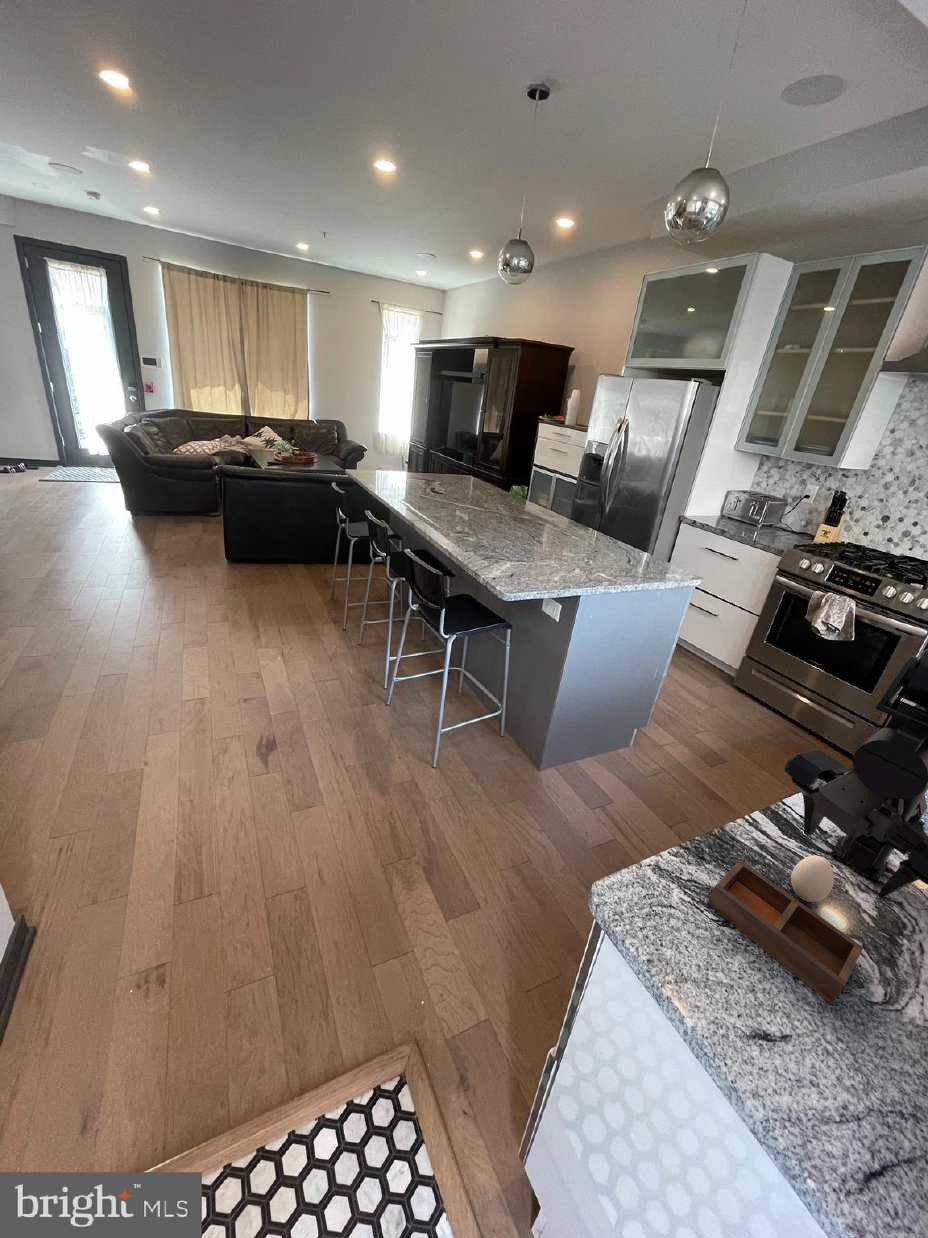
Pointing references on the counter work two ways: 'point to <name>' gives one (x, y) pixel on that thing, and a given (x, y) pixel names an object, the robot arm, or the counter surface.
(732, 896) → the egg rack
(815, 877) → the egg
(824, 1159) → the counter surface
